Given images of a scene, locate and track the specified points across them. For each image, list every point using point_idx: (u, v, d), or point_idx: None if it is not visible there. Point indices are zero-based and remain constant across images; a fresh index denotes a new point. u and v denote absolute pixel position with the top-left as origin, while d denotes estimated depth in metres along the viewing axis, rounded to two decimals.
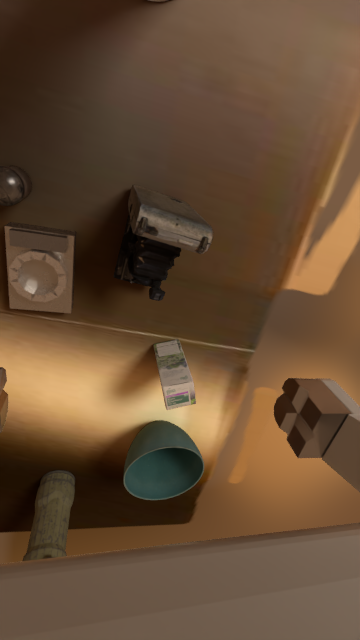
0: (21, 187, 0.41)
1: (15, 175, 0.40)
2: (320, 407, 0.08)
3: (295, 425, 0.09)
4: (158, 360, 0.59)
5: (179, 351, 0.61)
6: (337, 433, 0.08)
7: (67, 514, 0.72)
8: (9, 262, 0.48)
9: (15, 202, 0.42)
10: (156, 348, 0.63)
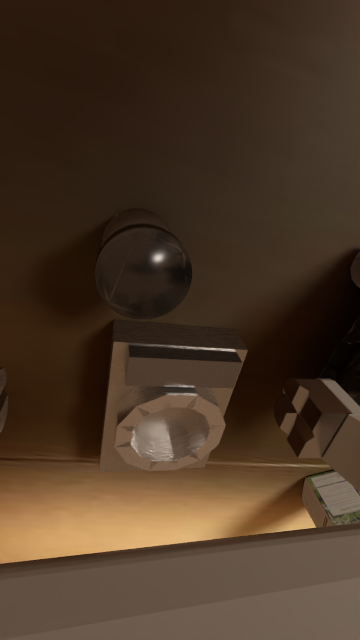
0: (188, 276, 0.16)
1: (181, 249, 0.15)
2: (320, 407, 0.08)
3: (295, 425, 0.09)
4: None
5: None
6: (337, 433, 0.08)
7: None
8: (111, 404, 0.23)
9: (166, 310, 0.16)
10: (317, 490, 0.38)
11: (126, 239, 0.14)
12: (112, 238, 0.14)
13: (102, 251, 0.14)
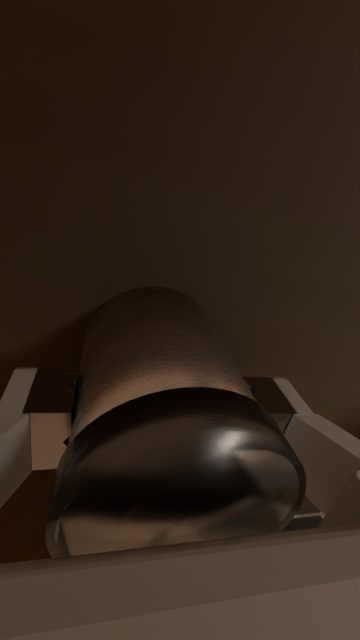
0: (294, 503, 0.06)
1: (288, 458, 0.05)
2: None
3: None
4: None
5: None
6: None
7: None
8: None
9: None
10: None
11: (138, 463, 0.05)
12: (94, 459, 0.05)
13: (64, 495, 0.05)
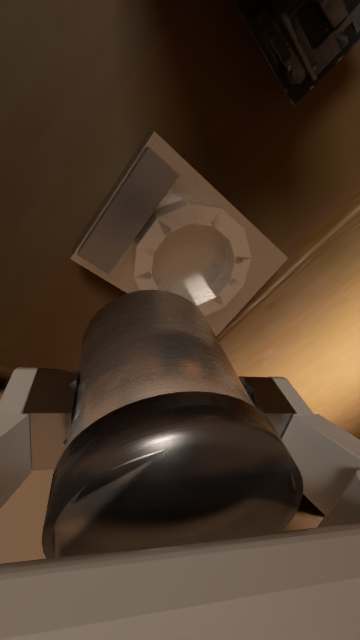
0: (291, 506, 0.06)
1: (284, 462, 0.05)
2: (264, 406, 0.08)
3: None
4: None
5: None
6: (284, 434, 0.08)
7: None
8: None
9: None
10: None
11: (133, 468, 0.05)
12: (90, 464, 0.05)
13: (60, 501, 0.05)
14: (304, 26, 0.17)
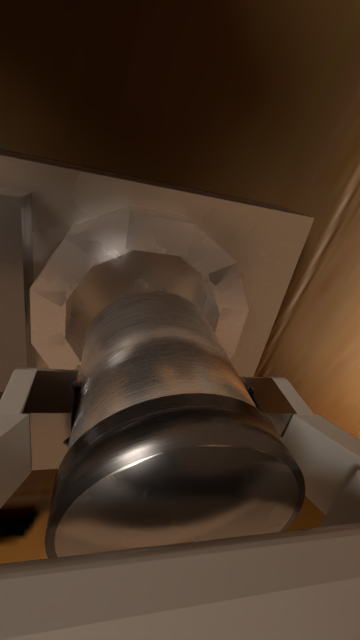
0: (293, 508, 0.06)
1: (287, 464, 0.05)
2: (264, 407, 0.08)
3: None
4: None
5: None
6: (283, 434, 0.08)
7: None
8: None
9: None
10: None
11: (137, 470, 0.05)
12: (94, 466, 0.05)
13: (64, 502, 0.05)
14: None
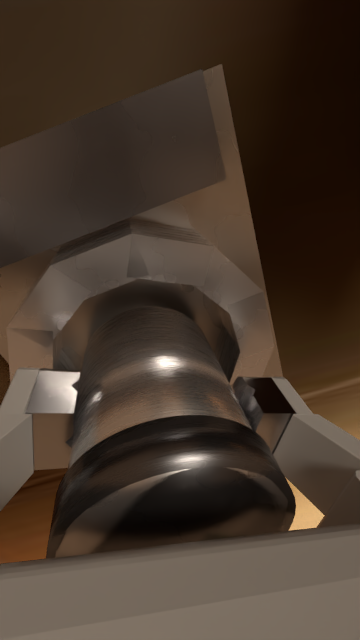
0: None
1: (286, 496, 0.06)
2: (263, 406, 0.08)
3: None
4: None
5: None
6: (283, 434, 0.08)
7: None
8: None
9: None
10: None
11: (164, 480, 0.05)
12: (124, 470, 0.05)
13: (86, 502, 0.05)
14: None
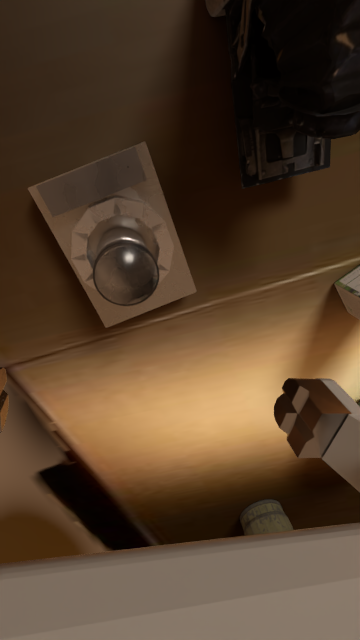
0: (156, 281, 0.23)
1: (154, 262, 0.22)
2: (320, 407, 0.08)
3: (295, 425, 0.09)
4: None
5: None
6: (337, 433, 0.08)
7: None
8: (68, 252, 0.27)
9: (136, 302, 0.24)
10: (346, 286, 0.35)
11: (119, 249, 0.21)
12: (110, 246, 0.21)
13: (102, 253, 0.21)
14: (267, 145, 0.25)
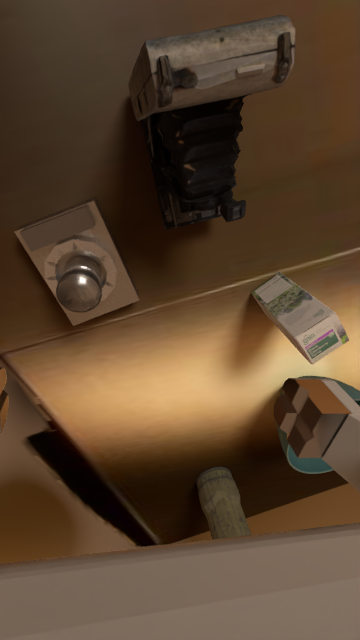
0: (100, 295, 0.35)
1: (96, 283, 0.34)
2: (320, 407, 0.08)
3: (295, 425, 0.09)
4: (269, 308, 0.43)
5: (290, 284, 0.44)
6: (337, 433, 0.08)
7: (241, 512, 0.63)
8: (43, 273, 0.38)
9: (88, 309, 0.35)
10: (257, 295, 0.47)
11: (72, 276, 0.33)
12: (66, 275, 0.33)
13: (60, 280, 0.33)
14: (180, 201, 0.37)
